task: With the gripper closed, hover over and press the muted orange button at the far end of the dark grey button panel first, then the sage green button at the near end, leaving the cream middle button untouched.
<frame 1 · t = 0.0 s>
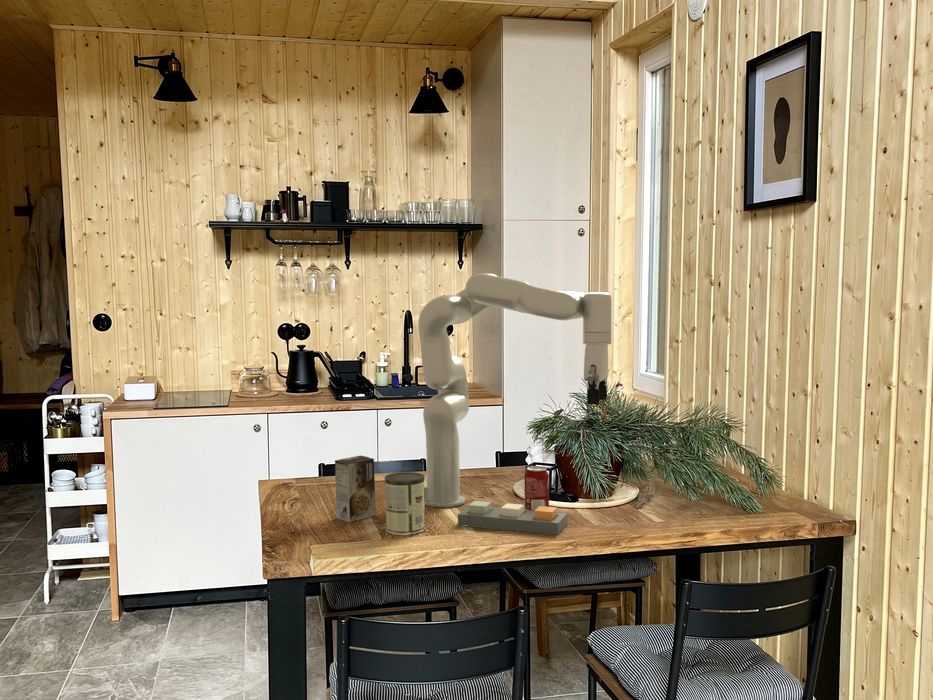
hand: (597, 401, 238), 31 cm above the table, tool pointing down, fingers open, 9 cm apart
coffee can: (405, 530, 229), on the table
coffee box: (355, 517, 241), on the table
button panel: (512, 525, 232), on the table
sage button: (480, 508, 235), point 4 cm above the table, slide at 0.0 cm
soda can: (536, 511, 246), on the table
orange button: (545, 513, 229), point 4 cm above the table, slide at 0.0 cm
cream button: (512, 511, 232), point 4 cm above the table, slide at 0.0 cm
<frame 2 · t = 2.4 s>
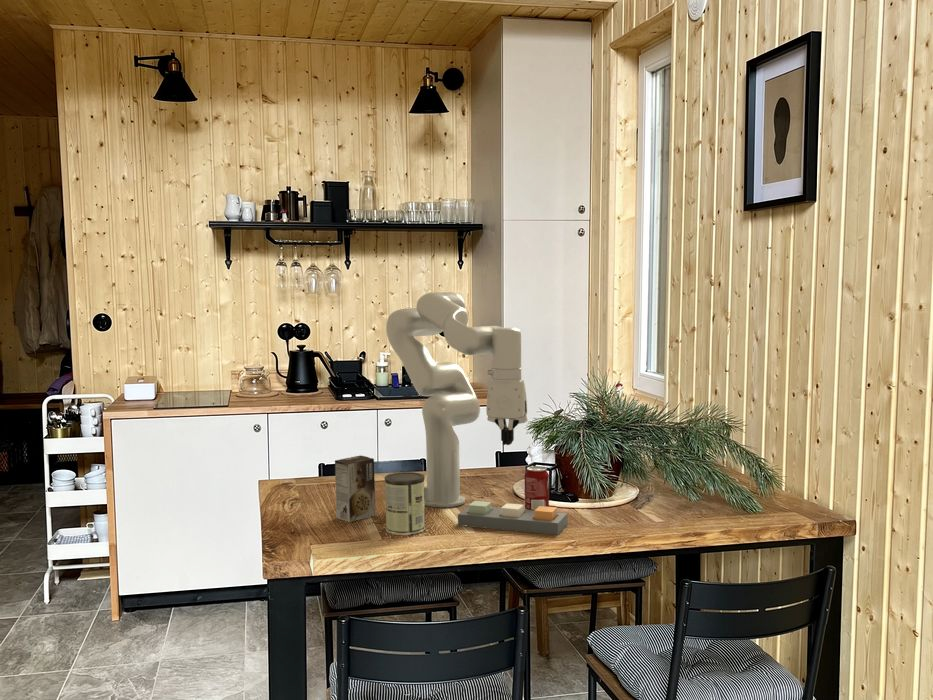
hand: (507, 443, 233), 21 cm above the table, tool pointing down, fingers closed
nothing on the table moved.
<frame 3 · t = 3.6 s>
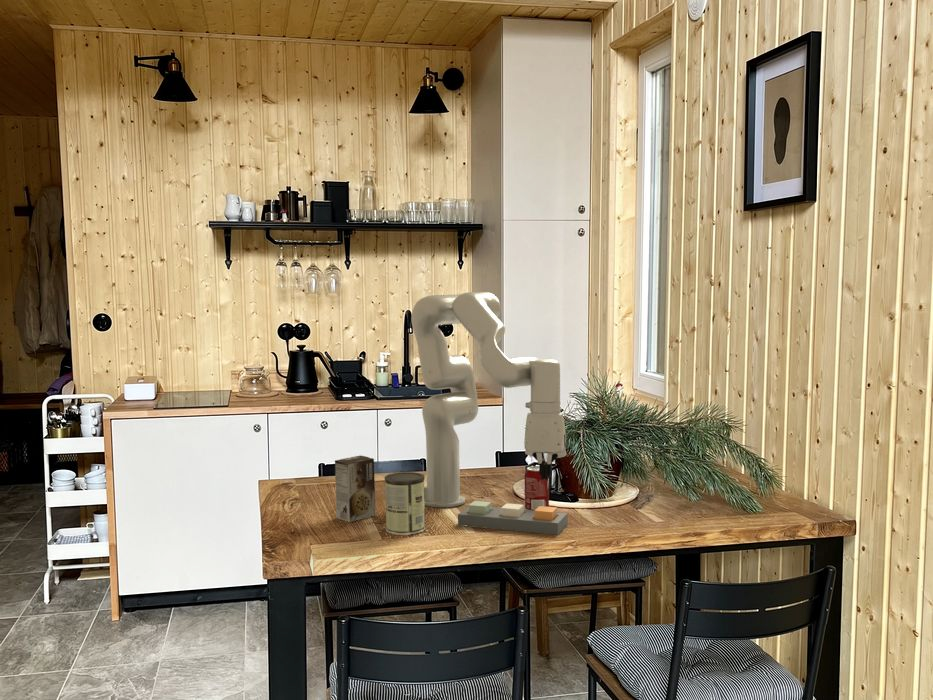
hand: (545, 478, 228), 13 cm above the table, tool pointing down, fingers closed
nothing on the table moved.
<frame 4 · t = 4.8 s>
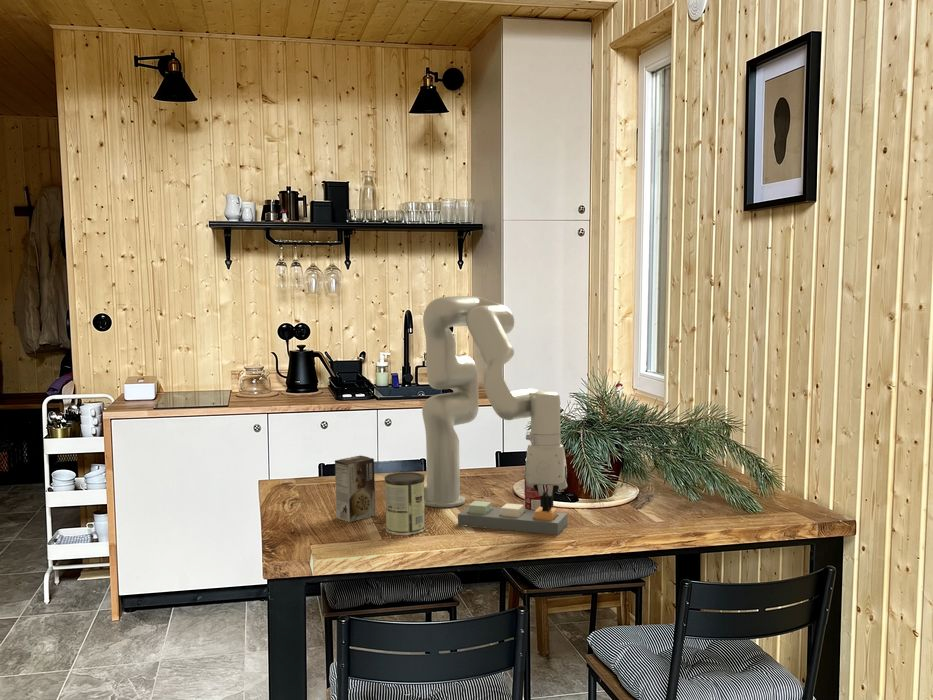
hand: (546, 509, 228), 5 cm above the table, tool pointing down, fingers closed
orange button: (545, 514, 229), point 4 cm above the table, slide at 0.2 cm, touching gripper
everything else where it was.
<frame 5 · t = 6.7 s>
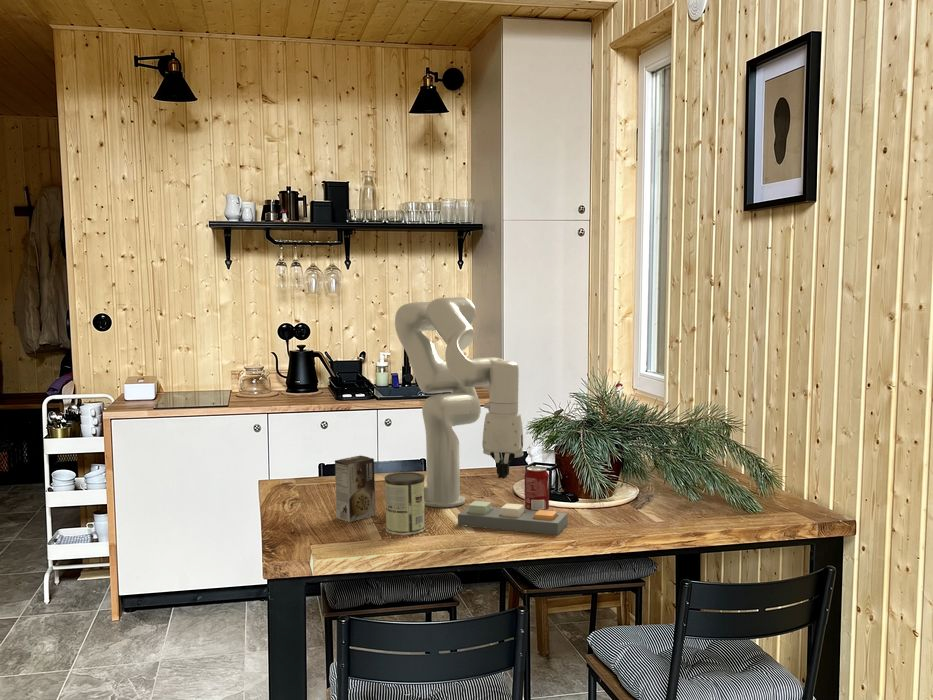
hand: (502, 477, 232), 12 cm above the table, tool pointing down, fingers closed
orange button: (545, 517, 229), point 3 cm above the table, slide at 1.0 cm
everything else where it was.
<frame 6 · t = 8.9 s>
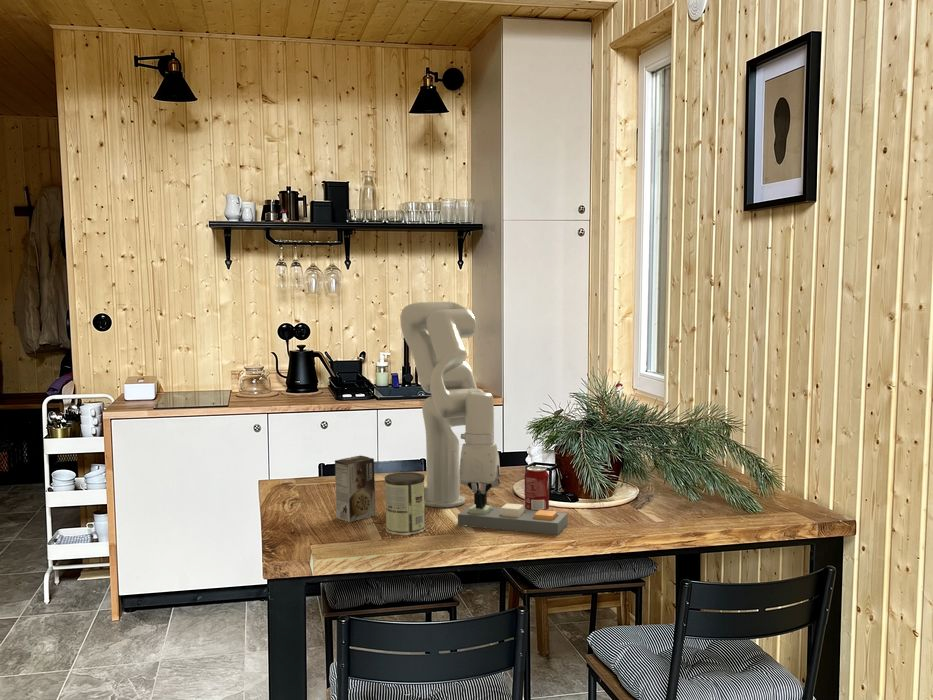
hand: (480, 507, 235), 4 cm above the table, tool pointing down, fingers closed
sage button: (480, 511, 235), point 3 cm above the table, slide at 1.0 cm, touching gripper
everything else where it was.
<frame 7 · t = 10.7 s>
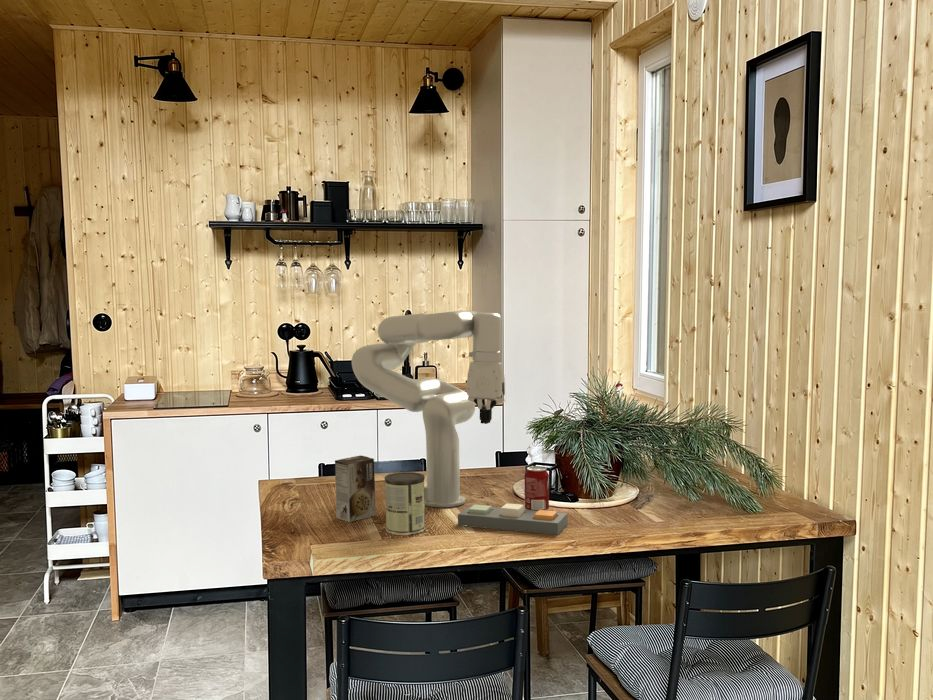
hand: (485, 422, 246), 25 cm above the table, tool pointing down, fingers closed
sage button: (480, 512, 235), point 3 cm above the table, slide at 1.0 cm
everything else where it was.
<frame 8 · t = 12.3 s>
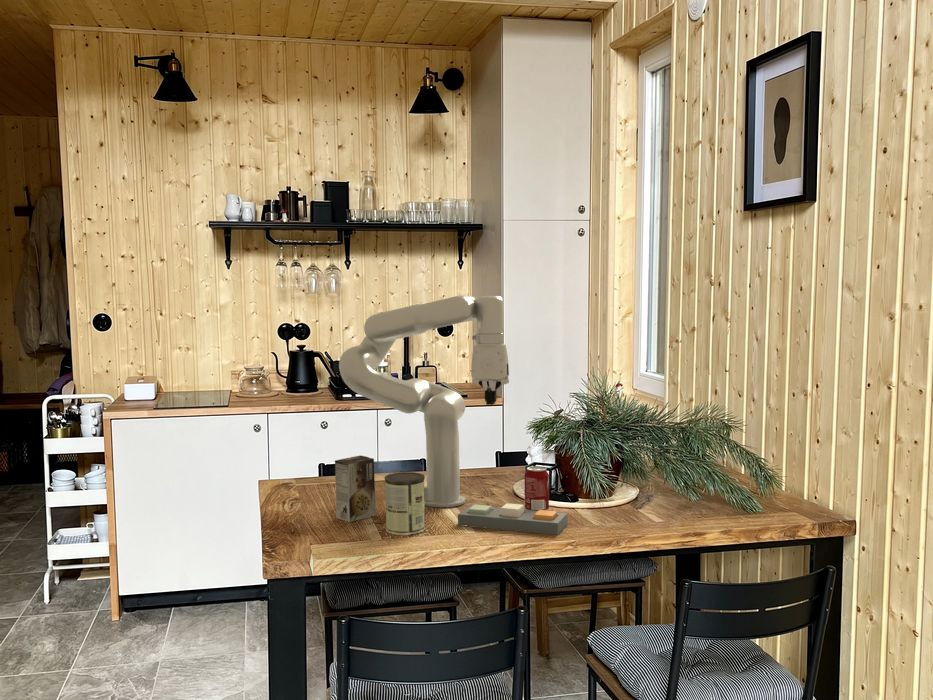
hand: (490, 404, 251), 29 cm above the table, tool pointing down, fingers closed
nothing on the table moved.
at the end: orange button slide at 1.0 cm; sage button slide at 1.0 cm; cream button slide at 0.0 cm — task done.
